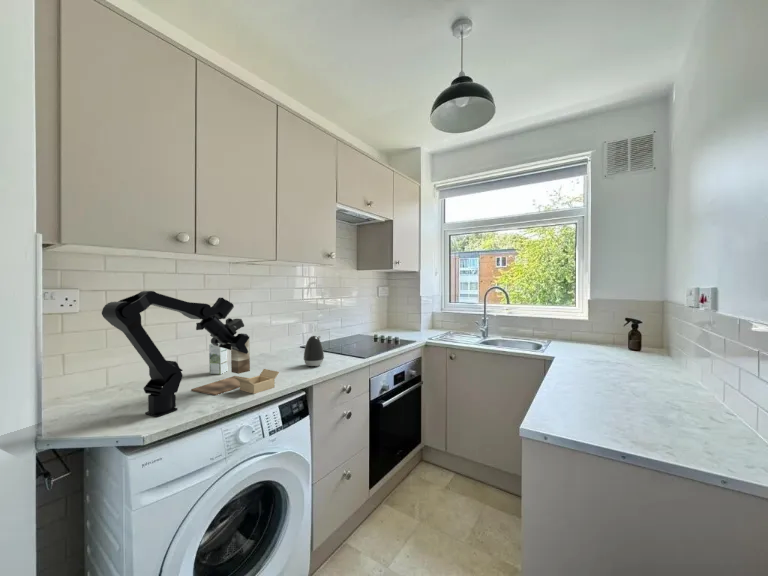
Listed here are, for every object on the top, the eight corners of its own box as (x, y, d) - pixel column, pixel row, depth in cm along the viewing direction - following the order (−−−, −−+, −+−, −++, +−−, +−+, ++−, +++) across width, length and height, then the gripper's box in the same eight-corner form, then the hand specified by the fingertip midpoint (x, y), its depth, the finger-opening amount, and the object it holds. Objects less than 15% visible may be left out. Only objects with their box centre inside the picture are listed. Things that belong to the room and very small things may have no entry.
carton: (248, 395, 117) (248, 380, 117) (234, 391, 122) (233, 376, 122) (279, 385, 128) (279, 371, 128) (264, 382, 133) (264, 368, 133)
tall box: (238, 373, 125) (237, 338, 125) (231, 372, 128) (230, 337, 128) (249, 371, 129) (249, 336, 129) (243, 369, 132) (242, 336, 132)
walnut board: (216, 395, 117) (216, 393, 117) (191, 390, 123) (191, 389, 123) (258, 380, 136) (258, 379, 136) (234, 377, 141) (234, 375, 141)
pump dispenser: (328, 364, 164) (327, 334, 164) (316, 369, 154) (315, 337, 154) (312, 362, 168) (311, 333, 168) (299, 367, 159) (299, 336, 159)
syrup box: (228, 371, 151) (227, 341, 151) (220, 374, 145) (220, 343, 145) (216, 371, 152) (216, 341, 152) (208, 374, 146) (208, 343, 146)
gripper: (244, 313, 120) (269, 338, 129) (218, 311, 131) (242, 334, 140) (224, 336, 114) (252, 361, 123) (198, 332, 124) (225, 355, 133)
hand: (243, 352), depth 130 cm, fingers closed on tall box, 5 cm apart
